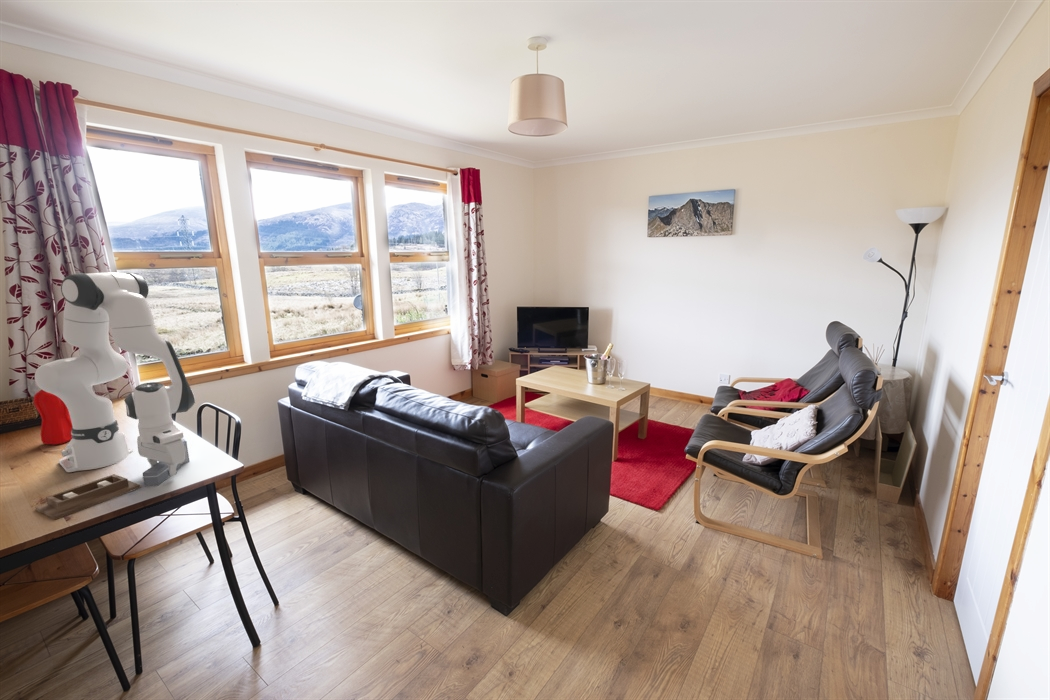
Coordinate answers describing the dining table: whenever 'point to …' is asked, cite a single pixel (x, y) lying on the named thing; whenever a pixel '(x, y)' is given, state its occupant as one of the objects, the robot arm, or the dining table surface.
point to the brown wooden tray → (86, 496)
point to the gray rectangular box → (157, 474)
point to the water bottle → (53, 418)
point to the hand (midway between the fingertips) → (164, 472)
